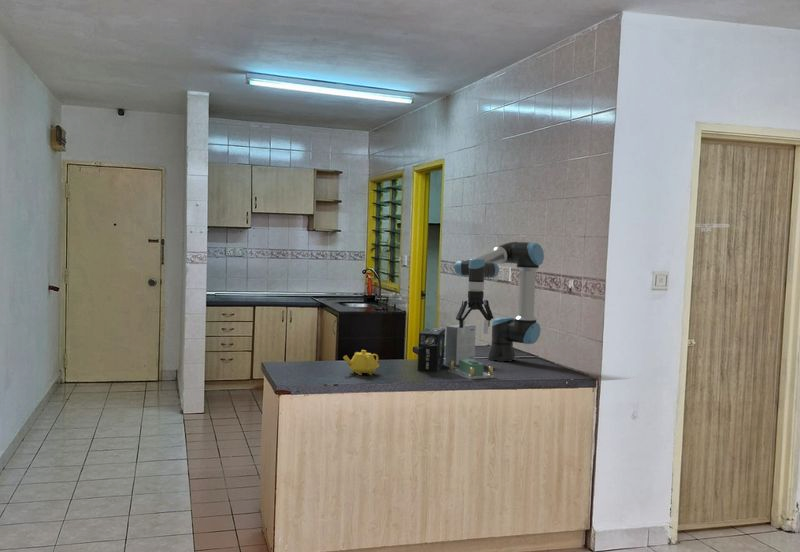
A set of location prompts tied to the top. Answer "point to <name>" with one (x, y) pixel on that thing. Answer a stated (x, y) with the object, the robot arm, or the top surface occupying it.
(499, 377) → the top surface
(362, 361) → the teapot
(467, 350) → the hard drive box
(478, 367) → the green rectangular block
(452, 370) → the chassis
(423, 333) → the box
